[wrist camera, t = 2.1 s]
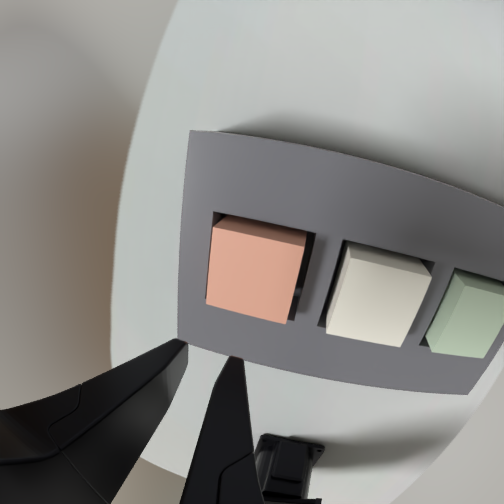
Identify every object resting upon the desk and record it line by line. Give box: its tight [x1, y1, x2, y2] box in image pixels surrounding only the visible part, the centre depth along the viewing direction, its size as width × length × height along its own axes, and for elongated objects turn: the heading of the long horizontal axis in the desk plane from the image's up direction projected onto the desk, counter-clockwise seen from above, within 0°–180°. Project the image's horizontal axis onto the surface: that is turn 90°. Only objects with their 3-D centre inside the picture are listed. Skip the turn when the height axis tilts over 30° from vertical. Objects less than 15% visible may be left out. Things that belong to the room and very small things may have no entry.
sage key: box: [425, 268, 504, 358], centre depth 13 cm, size 4×4×2 cm
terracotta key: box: [206, 214, 307, 324], centre depth 14 cm, size 4×4×2 cm
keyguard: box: [178, 130, 504, 395], centre depth 15 cm, size 12×20×4 cm, turn 82°
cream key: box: [326, 240, 432, 347], centre depth 13 cm, size 4×4×2 cm
